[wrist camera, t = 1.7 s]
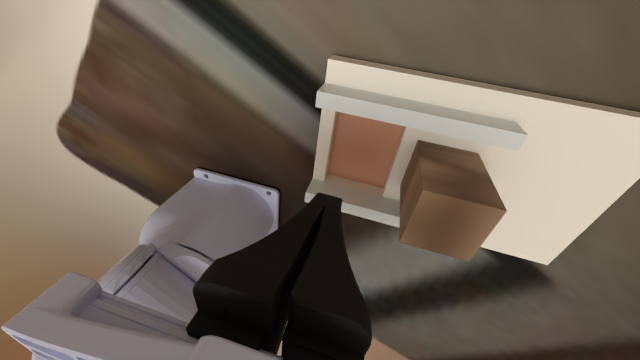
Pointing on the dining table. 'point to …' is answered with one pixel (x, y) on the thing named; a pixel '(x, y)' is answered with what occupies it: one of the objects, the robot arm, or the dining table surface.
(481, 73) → the dining table surface
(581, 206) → the channel
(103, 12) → the dining table surface
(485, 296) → the dining table surface
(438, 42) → the dining table surface
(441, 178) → the walnut block
